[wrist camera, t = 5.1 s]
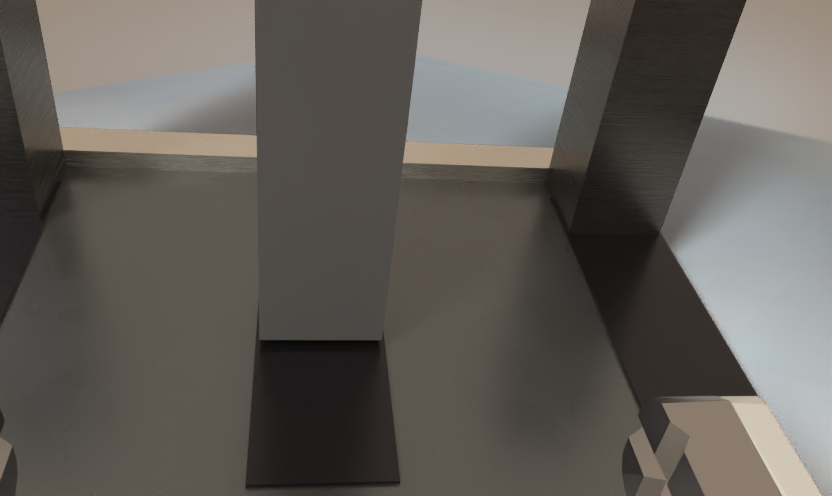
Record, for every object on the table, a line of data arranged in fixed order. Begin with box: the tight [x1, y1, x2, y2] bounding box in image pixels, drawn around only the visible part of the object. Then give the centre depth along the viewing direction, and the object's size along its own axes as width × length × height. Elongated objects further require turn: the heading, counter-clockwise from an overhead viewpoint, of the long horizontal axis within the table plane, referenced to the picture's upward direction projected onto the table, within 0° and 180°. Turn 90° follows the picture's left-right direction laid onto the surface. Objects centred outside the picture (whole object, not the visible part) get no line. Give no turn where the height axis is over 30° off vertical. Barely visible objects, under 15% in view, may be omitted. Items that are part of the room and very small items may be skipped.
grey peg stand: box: [0, 0, 758, 496], centre depth 18 cm, size 22×16×12 cm
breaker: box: [255, 0, 422, 340], centre depth 17 cm, size 3×3×12 cm
